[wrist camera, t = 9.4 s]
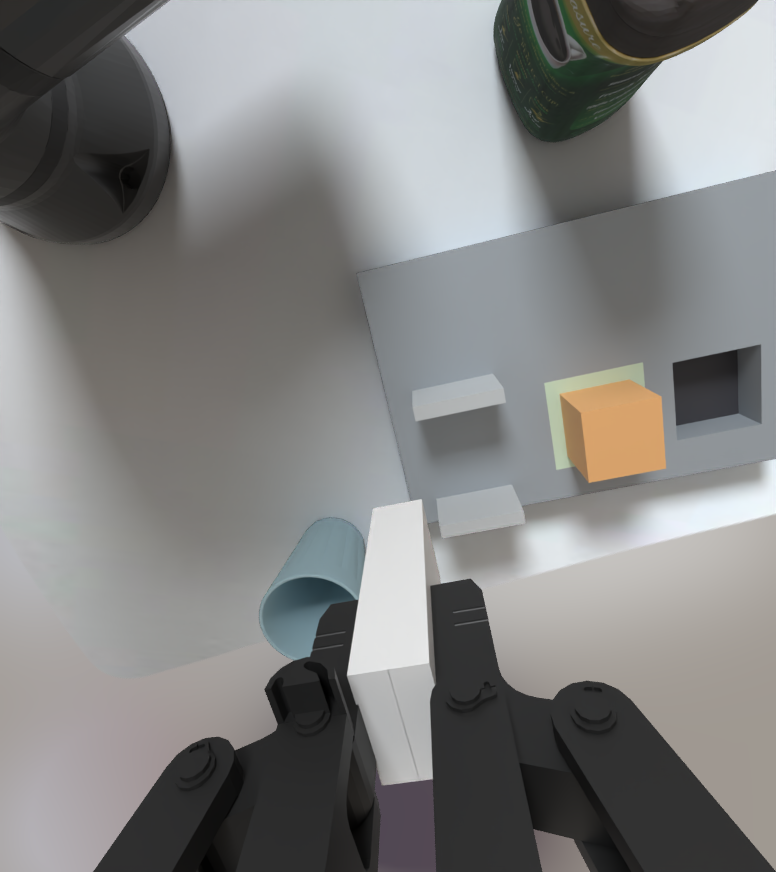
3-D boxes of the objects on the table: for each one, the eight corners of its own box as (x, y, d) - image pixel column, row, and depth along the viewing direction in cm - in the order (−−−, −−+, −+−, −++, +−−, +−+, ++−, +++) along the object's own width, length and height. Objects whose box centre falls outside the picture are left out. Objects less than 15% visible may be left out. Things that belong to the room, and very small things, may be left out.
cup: (384, 515, 45) (376, 587, 35) (368, 588, 47) (356, 674, 37) (299, 497, 45) (266, 565, 35) (287, 571, 47) (254, 654, 37)
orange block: (559, 393, 38) (580, 412, 33) (629, 379, 37) (661, 396, 32) (567, 456, 39) (588, 482, 34) (634, 443, 38) (666, 468, 34)
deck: (360, 272, 38) (348, 274, 31) (755, 175, 35) (842, 153, 28) (416, 508, 44) (417, 555, 37) (757, 443, 41) (829, 481, 34)
